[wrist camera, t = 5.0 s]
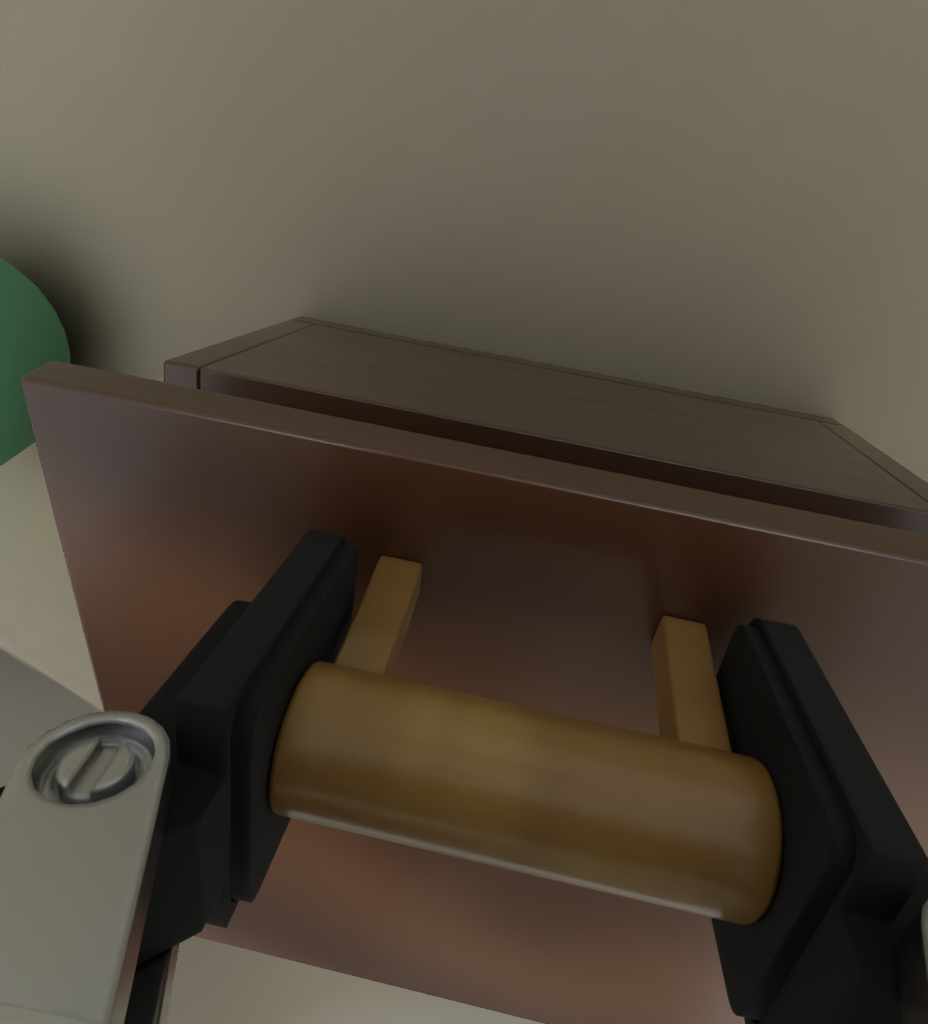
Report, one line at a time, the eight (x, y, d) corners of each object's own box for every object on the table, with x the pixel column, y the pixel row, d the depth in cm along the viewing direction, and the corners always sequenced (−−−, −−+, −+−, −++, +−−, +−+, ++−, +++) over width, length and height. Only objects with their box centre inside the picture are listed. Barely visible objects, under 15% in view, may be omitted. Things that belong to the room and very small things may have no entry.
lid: (53, 358, 11) (-294, 537, 6) (1137, 575, 10) (1545, 949, 6) (171, 900, 20) (63, 1110, 16) (717, 1035, 19) (751, 1295, 15)
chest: (298, 316, 21) (162, 360, 14) (836, 419, 20) (989, 524, 13) (273, 726, 28) (172, 900, 20) (674, 818, 27) (716, 1034, 19)
